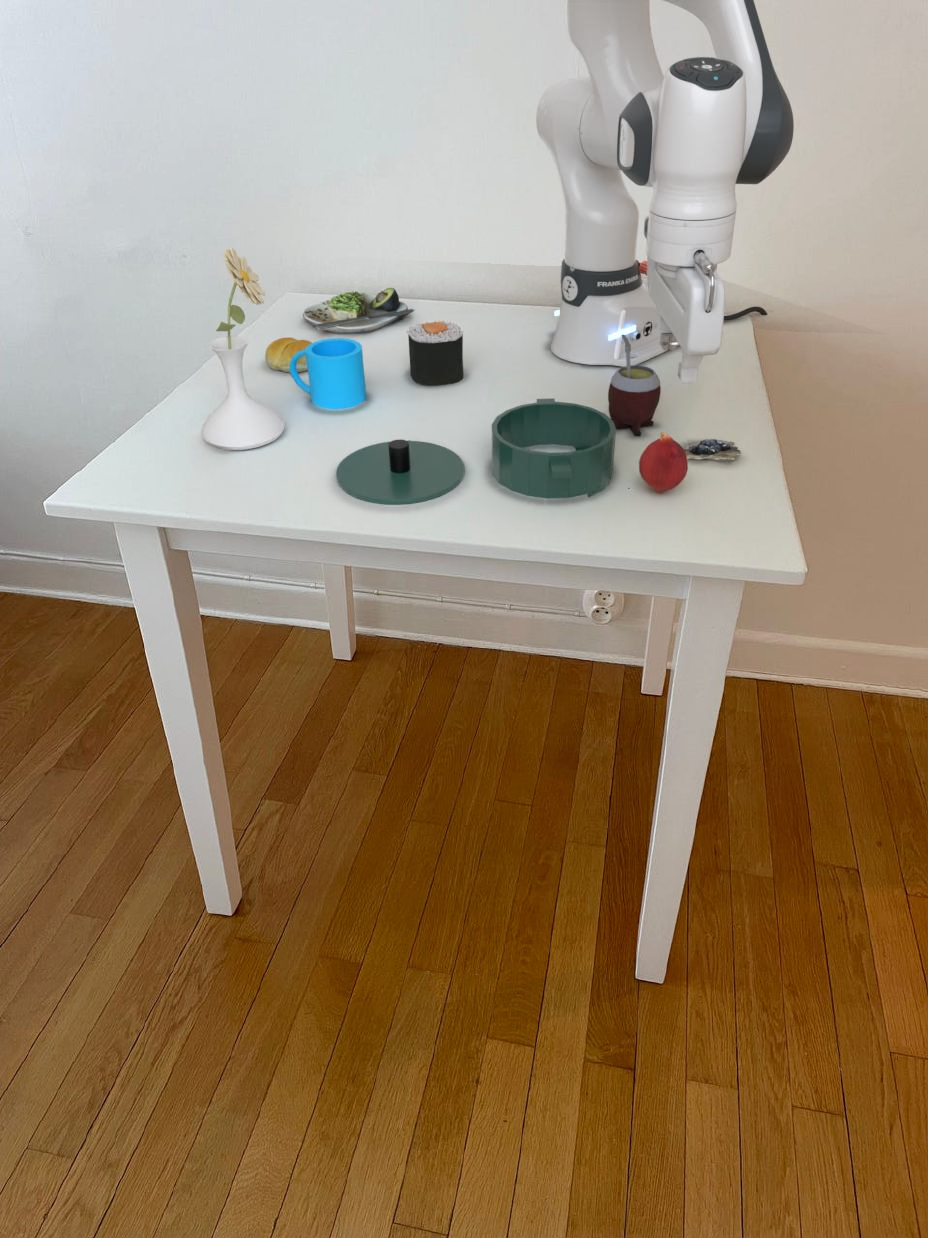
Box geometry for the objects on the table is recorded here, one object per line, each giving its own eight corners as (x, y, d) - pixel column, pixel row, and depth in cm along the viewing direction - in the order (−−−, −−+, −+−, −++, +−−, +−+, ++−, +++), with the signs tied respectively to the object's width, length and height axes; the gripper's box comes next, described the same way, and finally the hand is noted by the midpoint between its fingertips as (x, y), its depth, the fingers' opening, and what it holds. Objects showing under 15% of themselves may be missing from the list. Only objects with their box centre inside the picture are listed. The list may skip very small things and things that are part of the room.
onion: (682, 481, 120) (689, 423, 115) (685, 504, 115) (694, 444, 111) (635, 480, 121) (641, 421, 116) (637, 502, 116) (643, 442, 111)
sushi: (404, 370, 151) (401, 320, 147) (454, 363, 153) (452, 314, 149) (417, 389, 145) (415, 338, 140) (469, 381, 147) (468, 331, 142)
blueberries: (746, 464, 123) (748, 451, 122) (685, 467, 123) (687, 454, 122) (730, 441, 129) (732, 428, 128) (672, 444, 128) (673, 431, 127)
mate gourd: (647, 414, 136) (657, 309, 127) (665, 437, 130) (678, 329, 121) (596, 418, 135) (603, 314, 127) (613, 443, 129) (621, 334, 120)
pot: (599, 435, 131) (603, 391, 127) (624, 511, 114) (628, 463, 111) (488, 438, 131) (488, 394, 127) (496, 515, 114) (496, 467, 110)
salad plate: (351, 347, 160) (348, 320, 157) (278, 326, 169) (275, 300, 166) (425, 316, 172) (424, 290, 169) (354, 297, 181) (352, 273, 178)
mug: (376, 394, 144) (371, 342, 139) (350, 416, 138) (344, 361, 133) (307, 383, 148) (301, 332, 143) (279, 404, 142) (271, 351, 137)
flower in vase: (260, 463, 126) (229, 271, 112) (187, 451, 130) (147, 263, 115) (306, 423, 136) (283, 242, 121) (237, 413, 140) (206, 235, 125)
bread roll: (288, 350, 159) (285, 327, 157) (330, 361, 155) (327, 336, 153) (254, 367, 154) (250, 342, 151) (296, 377, 150) (293, 353, 147)
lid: (462, 446, 129) (462, 414, 126) (466, 506, 116) (465, 472, 113) (342, 450, 129) (338, 418, 126) (331, 510, 116) (327, 476, 113)
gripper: (747, 266, 92) (729, 400, 100) (696, 211, 108) (684, 330, 117) (682, 270, 92) (669, 403, 100) (641, 214, 108) (632, 333, 117)
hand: (677, 363), depth 109 cm, fingers open, 8 cm apart
